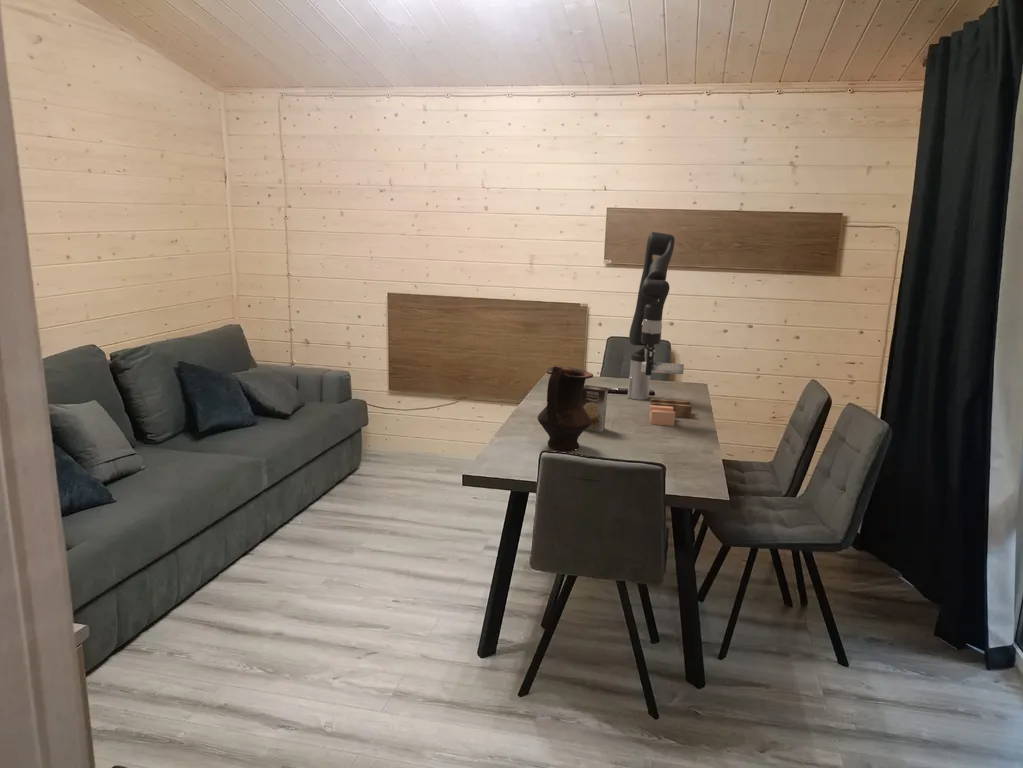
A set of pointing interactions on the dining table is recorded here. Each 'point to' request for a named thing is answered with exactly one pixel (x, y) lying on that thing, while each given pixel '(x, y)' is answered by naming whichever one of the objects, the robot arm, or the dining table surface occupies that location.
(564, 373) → the jug
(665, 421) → the terracotta cradle
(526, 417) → the dining table surface
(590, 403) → the coffee box
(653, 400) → the wooden channel bracket
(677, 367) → the steel axle
